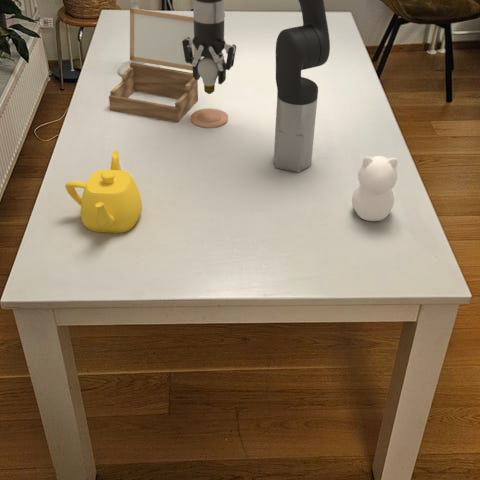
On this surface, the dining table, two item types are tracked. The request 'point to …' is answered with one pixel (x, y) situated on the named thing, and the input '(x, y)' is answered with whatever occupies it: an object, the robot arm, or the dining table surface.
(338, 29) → the dining table surface
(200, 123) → the saucer
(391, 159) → the cat figurine
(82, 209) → the teapot
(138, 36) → the lid
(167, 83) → the cold frame
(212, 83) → the light bulb
